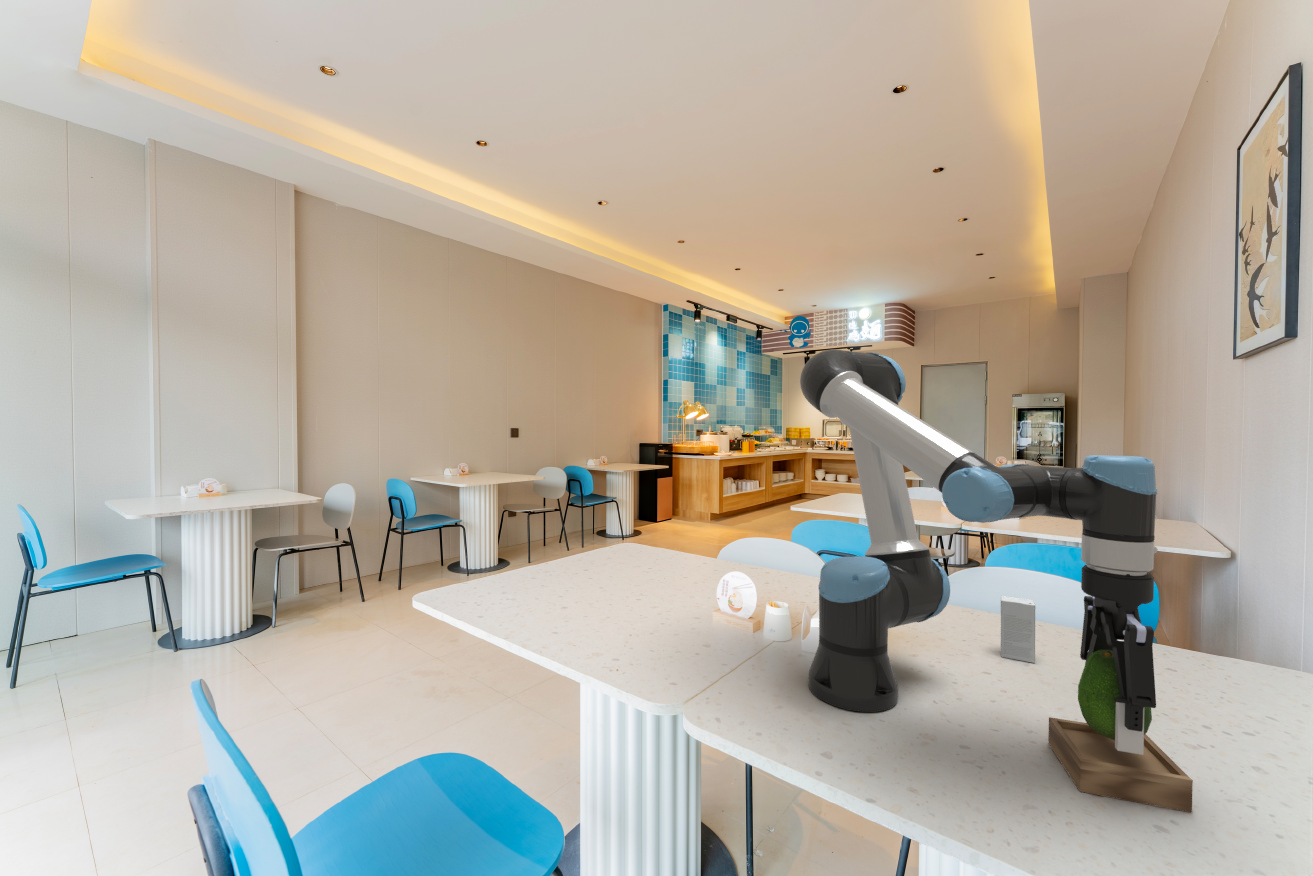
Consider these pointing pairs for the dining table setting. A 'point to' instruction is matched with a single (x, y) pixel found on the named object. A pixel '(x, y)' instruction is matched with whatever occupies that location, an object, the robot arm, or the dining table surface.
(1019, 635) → the skincare box
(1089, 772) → the wooden tray
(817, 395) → the robot arm
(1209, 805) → the dining table surface
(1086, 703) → the avocado
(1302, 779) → the dining table surface
